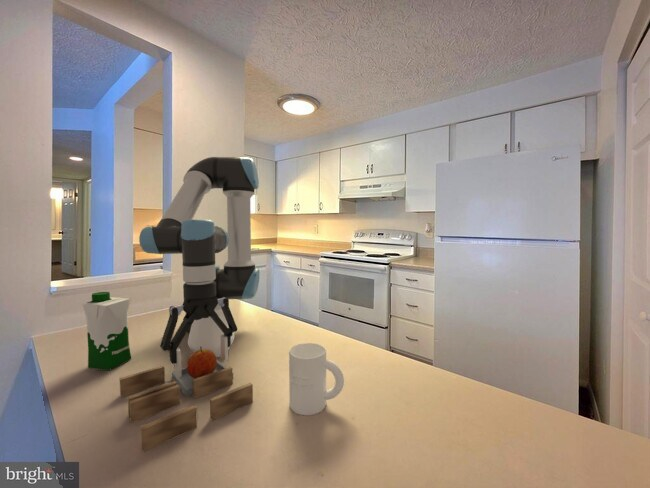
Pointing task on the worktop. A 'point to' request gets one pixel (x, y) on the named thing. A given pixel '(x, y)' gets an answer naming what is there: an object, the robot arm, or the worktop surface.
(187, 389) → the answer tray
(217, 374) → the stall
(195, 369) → the fruit
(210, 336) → the cup
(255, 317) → the worktop surface
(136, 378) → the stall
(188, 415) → the stall
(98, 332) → the milk carton
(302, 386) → the mug
